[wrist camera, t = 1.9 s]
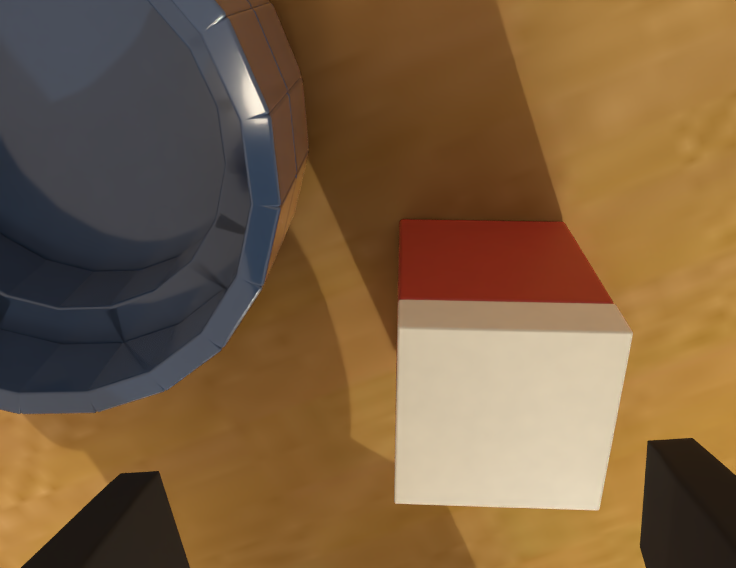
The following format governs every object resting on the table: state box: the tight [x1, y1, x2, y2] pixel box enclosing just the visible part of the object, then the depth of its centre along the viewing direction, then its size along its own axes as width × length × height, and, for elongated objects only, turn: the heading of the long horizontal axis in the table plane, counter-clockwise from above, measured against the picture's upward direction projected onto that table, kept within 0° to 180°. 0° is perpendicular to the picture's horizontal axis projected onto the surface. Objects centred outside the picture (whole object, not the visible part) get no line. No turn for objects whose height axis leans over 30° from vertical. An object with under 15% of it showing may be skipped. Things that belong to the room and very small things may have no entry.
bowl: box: [0, 0, 309, 414], centre depth 15 cm, size 11×11×5 cm
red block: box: [394, 219, 633, 510], centre depth 16 cm, size 4×4×6 cm
